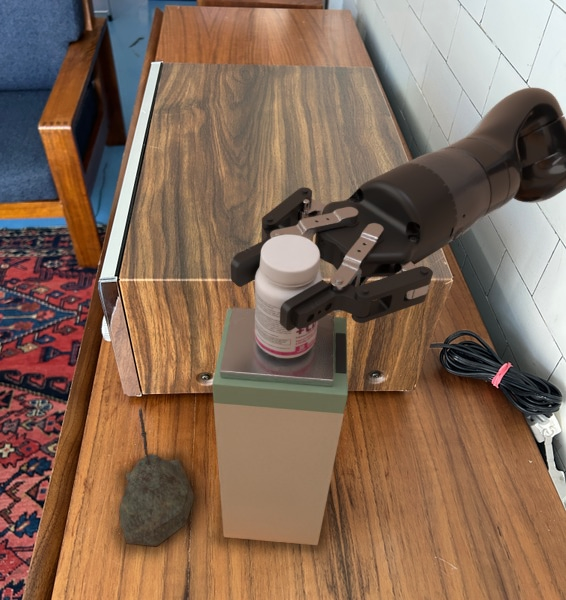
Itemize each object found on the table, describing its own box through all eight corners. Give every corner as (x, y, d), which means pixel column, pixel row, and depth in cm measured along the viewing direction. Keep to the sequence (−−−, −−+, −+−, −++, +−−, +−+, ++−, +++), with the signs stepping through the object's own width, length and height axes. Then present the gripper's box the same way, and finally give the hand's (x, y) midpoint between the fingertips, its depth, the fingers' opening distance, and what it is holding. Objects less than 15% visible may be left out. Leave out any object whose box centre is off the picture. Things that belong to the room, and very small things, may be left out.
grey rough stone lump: (196, 541, 59) (187, 485, 51) (119, 552, 58) (97, 496, 50) (192, 457, 66) (184, 395, 58) (123, 464, 65) (105, 403, 57)
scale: (343, 336, 49) (347, 310, 46) (344, 414, 43) (349, 388, 41) (228, 327, 49) (227, 301, 47) (213, 403, 43) (211, 377, 41)
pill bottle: (306, 367, 41) (313, 283, 35) (245, 350, 42) (243, 265, 36) (323, 323, 45) (333, 239, 39) (266, 308, 46) (268, 224, 40)
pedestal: (319, 476, 65) (343, 336, 49) (317, 545, 59) (344, 414, 43) (233, 468, 65) (228, 327, 49) (223, 537, 60) (213, 403, 43)
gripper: (363, 130, 47) (193, 201, 39) (510, 209, 40) (337, 318, 31) (352, 204, 52) (200, 281, 44) (480, 287, 45) (325, 397, 37)
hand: (258, 295), depth 38 cm, fingers closed on pill bottle, 4 cm apart
